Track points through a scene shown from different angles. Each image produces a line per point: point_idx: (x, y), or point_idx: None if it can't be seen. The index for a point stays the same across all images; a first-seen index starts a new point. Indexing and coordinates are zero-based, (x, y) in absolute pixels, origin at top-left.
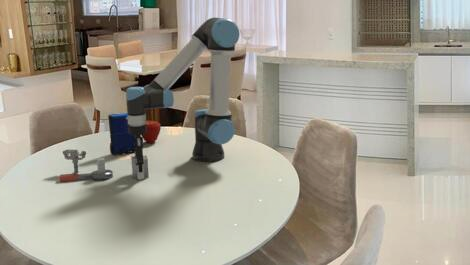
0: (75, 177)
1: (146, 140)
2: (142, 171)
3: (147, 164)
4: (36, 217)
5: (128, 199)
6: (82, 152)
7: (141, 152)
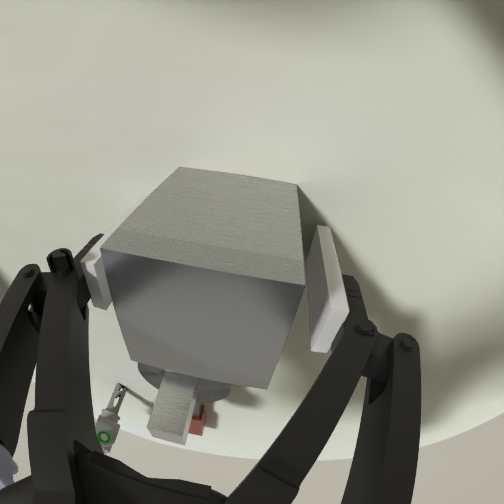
0: (202, 418)
1: None
2: (356, 281)
3: (301, 247)
4: None
5: (492, 332)
6: (110, 445)
7: (408, 454)
